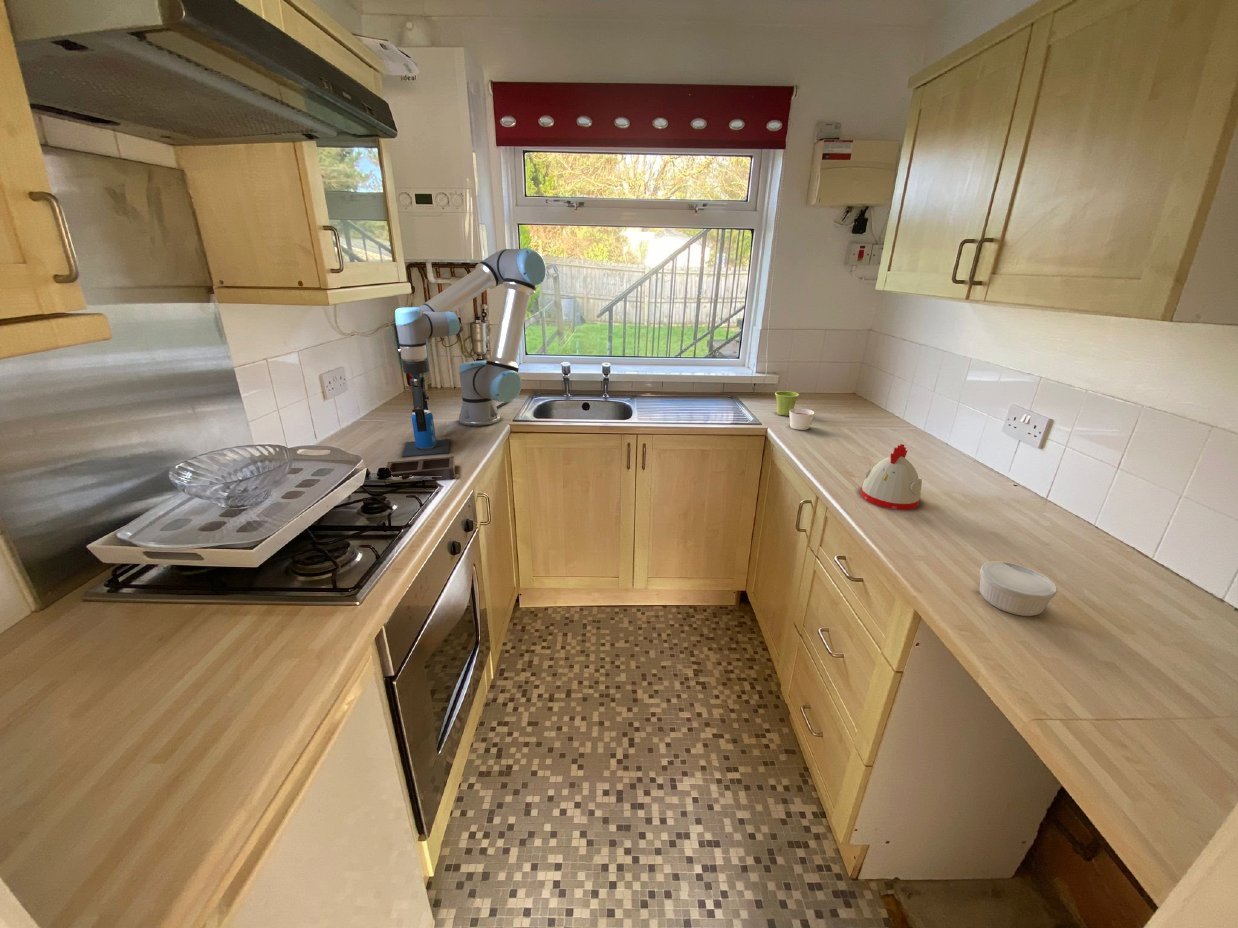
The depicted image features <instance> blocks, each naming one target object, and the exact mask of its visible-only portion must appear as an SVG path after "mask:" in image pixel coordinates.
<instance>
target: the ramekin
mask: <svg viewBox="0 0 1238 928" xmlns="http://www.w3.org/2000/svg"><path fill="white" fill-rule="evenodd" d="M979 574H980V577H979V579H980V580H979V592H980V594H981V596H982V597H983V599H984V600H985V601H986V602H987V603H988V604H990V605H992V606H993V607H995V608H997V609H999V610H1001V611H1004V612H1005V613H1008V614H1012V615H1016V616H1023V617H1033V616H1037V615H1039V614H1041V613H1043V611H1044V610H1045V609H1046V608H1047V606H1048V605H1049V604H1050V602H1051V600H1052V599H1054V598H1055V597H1056V595H1057V593H1058V588H1057V585H1056V584H1055V583H1054V581H1052V580H1051V579H1050V578H1048V577H1047V576H1046V575H1044V574H1042V573H1040V572H1039V571H1036V570H1033V569H1032V568H1030V567H1027V566H1024V565H1020V564H1017V563H1014V562H1013V563H1012V562H1009V561H1000V560H999V561H997V560H996V561H995V560H994V561H988V562H985V563H984V564H982V566H981V568H980V570H979Z"/></svg>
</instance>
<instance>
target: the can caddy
mask: <svg viewBox="0 0 1238 928" xmlns="http://www.w3.org/2000/svg"><path fill="white" fill-rule="evenodd" d="M386 468H389V470H391V471H392V472H391V474H392V476H393V477H399V476H403V475H412V476H442V477H432V479H436V480H435V481H443V480H453V479H455V478H456V477H455V476H456V475H455V474H456V463H455V456H445V457H442V456H441V457H430V458H420V459H408V460H397V461H388V462H387V463H386V466H385V469H386Z"/></svg>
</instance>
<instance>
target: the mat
mask: <svg viewBox="0 0 1238 928" xmlns="http://www.w3.org/2000/svg"><path fill="white" fill-rule="evenodd" d="M449 451H450V438H441V439H436V445H435V446H434V447H433V448H431V449H425V450H423V449H419V448H418V447H416V444H415V440H414V441H406V443H405V445H404V448H403V451H402V454H401V457H402V458H409V457H410V458H411V457H422V456H423V457H424V456H433V455H444V454H445V455H447V454H449Z"/></svg>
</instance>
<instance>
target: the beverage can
mask: <svg viewBox="0 0 1238 928" xmlns="http://www.w3.org/2000/svg"><path fill="white" fill-rule="evenodd" d="M424 412H425V420H426V427H427V431H424V432H418V430H417V423H416V416H415V412H412V411H411V417H410V418H411V423H412V431H413V437H414V441H415V444H416V447H418V448H419V449H423V450H425V449H431V448H433V447H434V446H435V445H436V440H437V439H436V438H437V437H436V431H435V423H434V422H435V421H434V414H433V413H432V411H431V410H430V409H428V410H424Z"/></svg>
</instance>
